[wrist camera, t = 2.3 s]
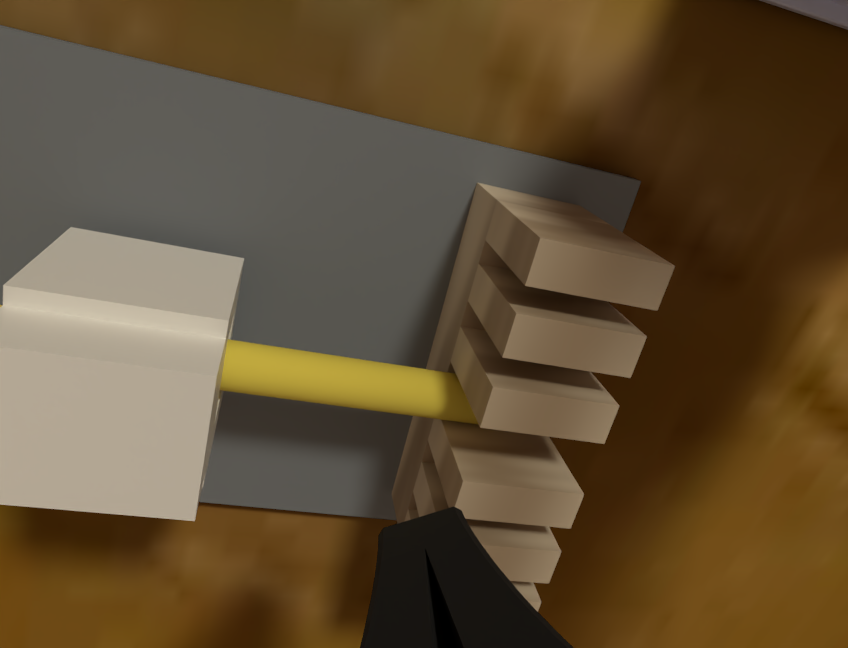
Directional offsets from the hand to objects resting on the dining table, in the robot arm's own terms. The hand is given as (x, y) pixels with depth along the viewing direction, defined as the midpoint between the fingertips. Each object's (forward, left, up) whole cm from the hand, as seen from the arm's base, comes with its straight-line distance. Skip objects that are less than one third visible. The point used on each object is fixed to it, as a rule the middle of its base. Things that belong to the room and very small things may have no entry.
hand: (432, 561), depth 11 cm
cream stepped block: (+6, 0, -8) cm, 10 cm away
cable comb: (-3, 0, -9) cm, 9 cm away
